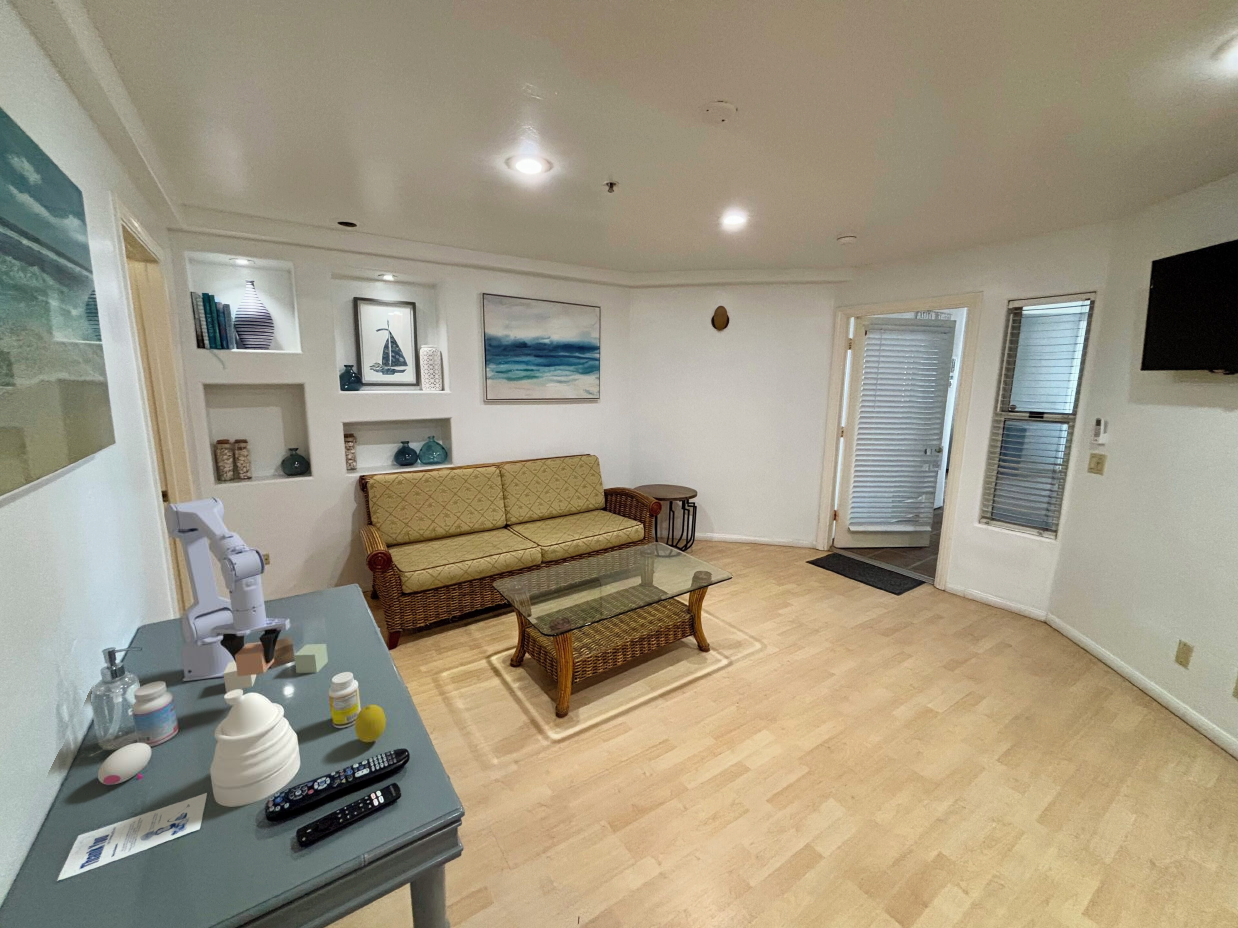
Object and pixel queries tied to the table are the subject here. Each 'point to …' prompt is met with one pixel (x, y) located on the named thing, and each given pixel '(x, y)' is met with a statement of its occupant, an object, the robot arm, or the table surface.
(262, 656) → the terracotta block
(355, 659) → the table surface
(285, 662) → the walnut block
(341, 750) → the table surface
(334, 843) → the table surface
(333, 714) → the supplement bottle
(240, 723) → the honey pot
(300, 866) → the table surface
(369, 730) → the lemon
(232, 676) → the cream block
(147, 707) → the pill bottle
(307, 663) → the sage block
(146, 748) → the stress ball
